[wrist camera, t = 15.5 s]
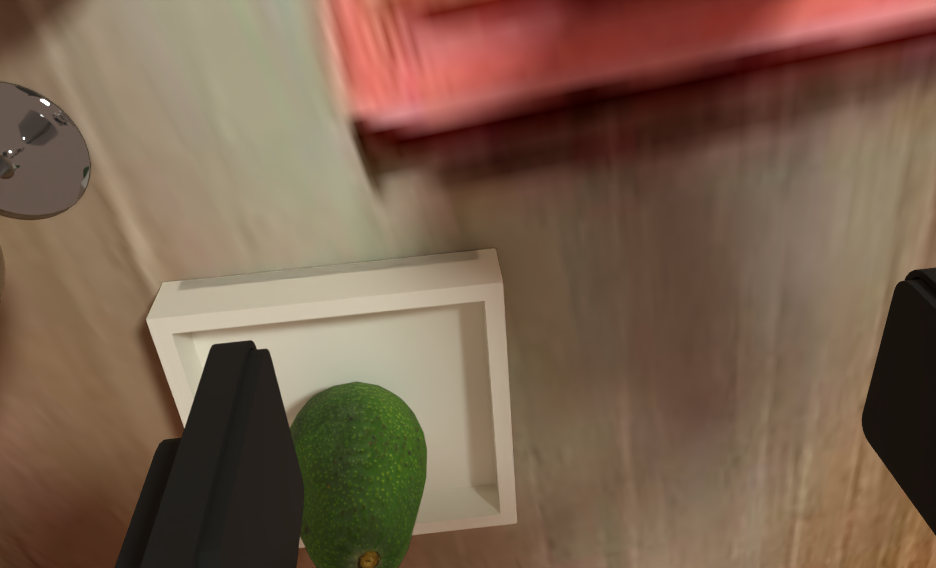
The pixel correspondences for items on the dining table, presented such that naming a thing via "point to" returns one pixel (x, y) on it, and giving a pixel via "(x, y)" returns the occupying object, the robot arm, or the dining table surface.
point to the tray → (373, 358)
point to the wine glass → (38, 158)
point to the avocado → (359, 475)
